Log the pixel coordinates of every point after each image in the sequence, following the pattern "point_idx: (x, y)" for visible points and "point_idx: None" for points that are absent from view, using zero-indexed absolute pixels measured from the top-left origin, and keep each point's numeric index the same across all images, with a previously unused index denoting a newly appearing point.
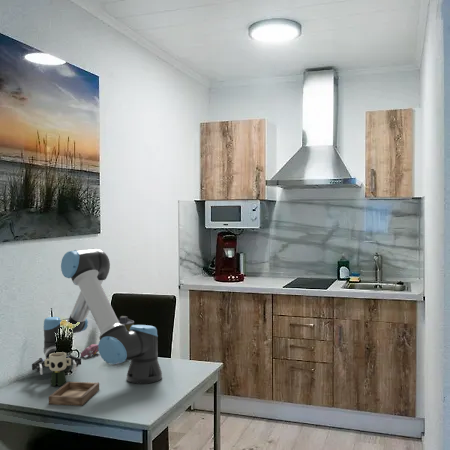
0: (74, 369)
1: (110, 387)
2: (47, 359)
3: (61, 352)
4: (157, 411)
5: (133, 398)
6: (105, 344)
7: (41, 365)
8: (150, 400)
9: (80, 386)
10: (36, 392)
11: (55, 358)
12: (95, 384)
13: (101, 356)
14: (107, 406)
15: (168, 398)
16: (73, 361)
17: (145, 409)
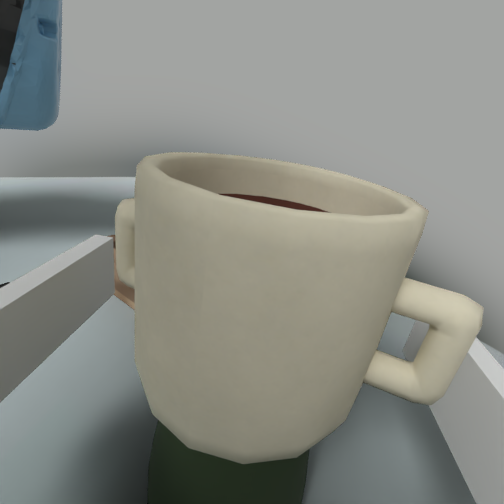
0: (108, 291)
1: (20, 270)
2: (427, 287)
3: (185, 183)
4: (109, 179)
5: (78, 207)
6: (60, 6)
7: (483, 368)
8: (63, 192)
9: None
10: (393, 406)
11: (313, 188)
12: (114, 238)
13: (57, 93)
14: None
15: (22, 183)
16: (30, 287)
17: (118, 186)
